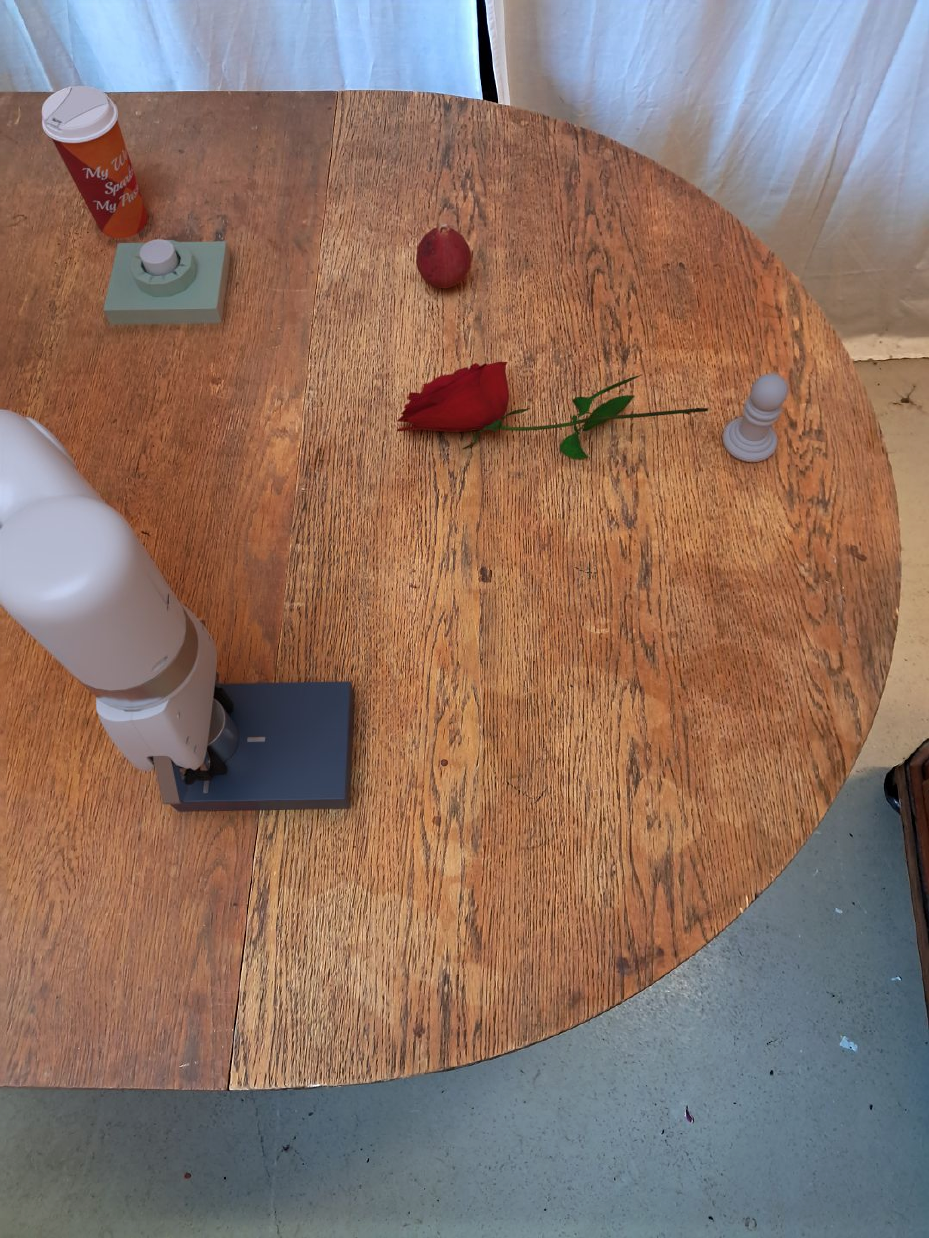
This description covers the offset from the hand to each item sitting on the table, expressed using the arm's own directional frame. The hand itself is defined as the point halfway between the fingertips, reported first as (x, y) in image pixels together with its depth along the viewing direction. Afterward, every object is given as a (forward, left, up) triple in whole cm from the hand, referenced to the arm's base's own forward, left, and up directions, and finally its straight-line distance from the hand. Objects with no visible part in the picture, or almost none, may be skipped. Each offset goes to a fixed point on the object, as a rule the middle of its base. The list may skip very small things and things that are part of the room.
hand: (210, 739), depth 72 cm
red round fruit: (+19, +53, -4) cm, 56 cm away
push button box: (-11, +53, -3) cm, 54 cm away
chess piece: (+49, +31, -4) cm, 58 cm away
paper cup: (-18, +64, -4) cm, 67 cm away
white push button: (-11, +53, 0) cm, 54 cm away
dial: (0, 0, 0) cm, 0 cm away
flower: (+29, +33, -4) cm, 44 cm away
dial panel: (+4, 0, -3) cm, 5 cm away
